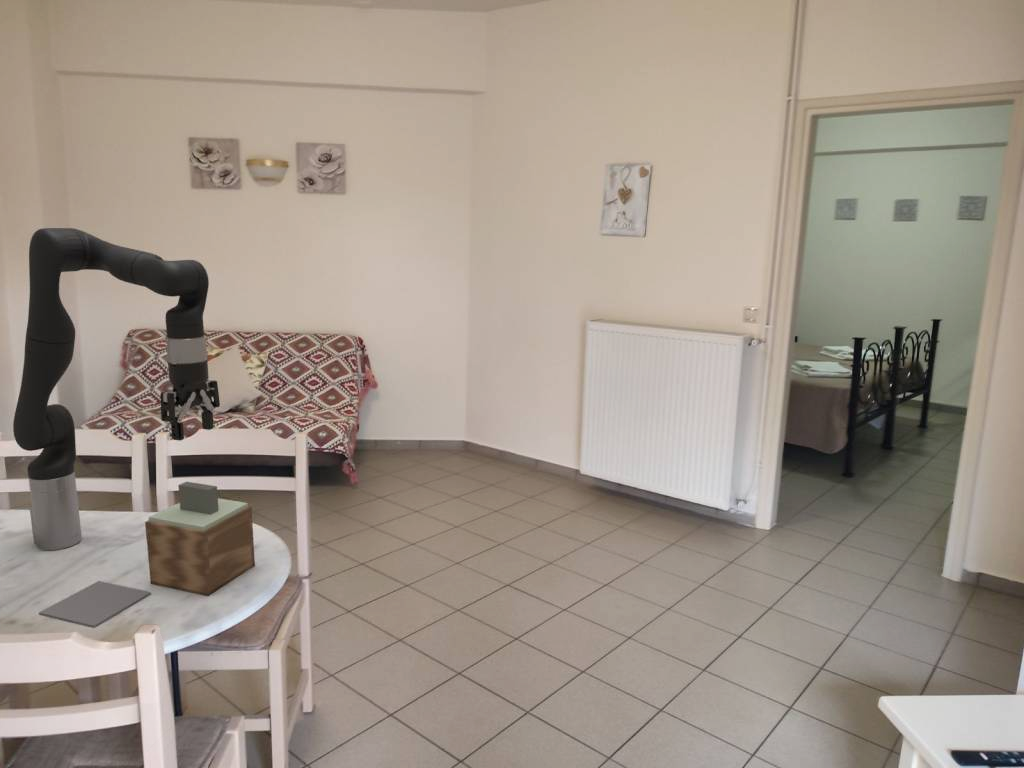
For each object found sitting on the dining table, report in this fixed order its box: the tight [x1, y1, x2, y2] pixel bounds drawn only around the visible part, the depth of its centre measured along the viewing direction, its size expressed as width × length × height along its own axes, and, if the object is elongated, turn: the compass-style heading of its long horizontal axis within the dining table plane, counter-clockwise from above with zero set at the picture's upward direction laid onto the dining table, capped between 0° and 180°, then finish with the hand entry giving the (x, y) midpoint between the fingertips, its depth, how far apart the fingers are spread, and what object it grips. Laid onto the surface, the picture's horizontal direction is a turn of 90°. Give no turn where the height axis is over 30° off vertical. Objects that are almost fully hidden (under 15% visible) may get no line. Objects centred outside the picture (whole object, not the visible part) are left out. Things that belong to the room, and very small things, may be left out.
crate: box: [144, 505, 256, 597], centre depth 162 cm, size 15×15×14 cm
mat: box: [38, 580, 152, 629], centre depth 150 cm, size 14×14×1 cm
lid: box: [148, 481, 249, 531], centre depth 160 cm, size 14×14×8 cm
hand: (193, 434), depth 157 cm, fingers open, 8 cm apart
